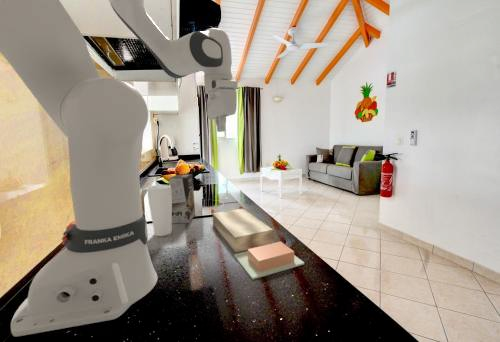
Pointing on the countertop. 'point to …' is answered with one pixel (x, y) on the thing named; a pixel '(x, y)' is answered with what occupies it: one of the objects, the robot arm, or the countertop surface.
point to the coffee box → (182, 198)
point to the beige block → (242, 229)
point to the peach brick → (270, 256)
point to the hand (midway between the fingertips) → (221, 131)
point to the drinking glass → (161, 208)
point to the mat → (256, 274)
